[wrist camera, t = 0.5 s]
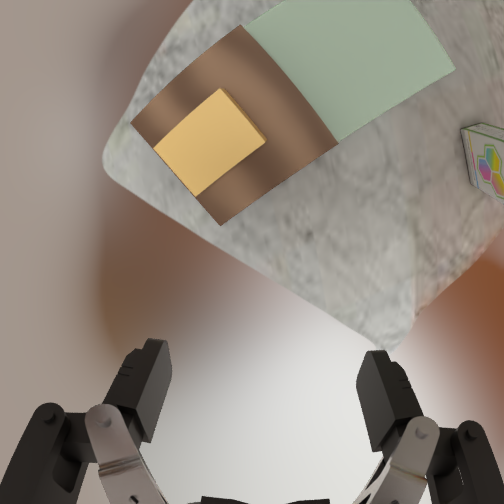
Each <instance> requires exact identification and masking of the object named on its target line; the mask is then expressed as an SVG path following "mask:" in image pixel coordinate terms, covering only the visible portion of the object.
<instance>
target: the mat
mask: <svg viewBox="0 0 504 504" xmlns="http://www.w3.org/2000/svg"><path fill="white" fill-rule="evenodd" d="M243 28H244V29H245V30H246V31H247V32H248V33H249V34H250V35H251V36H252V37H253V38H254V39H255V40H256V41H257V42H258V43H259V44H260V45H261V47H262V48H263V49H264V50H265V51H266V52H267V53H268V54H269V55H270V56H271V58H272V59H273V60H274V61H275V62H276V63H277V64H278V66H279V67H280V68H281V69H282V70H283V71H284V73H285V74H286V75H287V76H288V77H289V79H290V80H291V81H292V82H293V83H294V85H295V86H296V87H297V88H298V90H299V91H300V92H301V93H302V95H303V96H304V97H305V98H306V100H307V101H308V102H309V104H310V105H311V106H312V107H313V109H314V110H315V111H316V113H317V114H318V115H319V117H320V118H321V119H322V121H323V122H324V124H325V125H326V126H327V128H328V129H329V131H330V132H331V133H332V135H333V136H334V138H335V139H336V140H337V142H339V141H341V140H342V139H344V138H345V137H347V136H348V135H350V134H351V133H353V132H355V131H356V130H358V129H359V128H361V127H362V126H364V125H365V124H367V123H369V122H370V121H372V120H373V119H375V118H376V117H378V116H380V115H381V114H383V113H384V112H386V111H388V110H389V109H391V108H392V107H394V106H396V105H397V104H399V103H400V102H402V101H404V100H405V99H407V98H409V97H410V96H412V95H413V94H415V93H417V92H418V91H420V90H422V89H423V88H425V87H427V86H428V85H430V84H432V83H434V82H435V81H437V80H439V79H440V78H442V77H444V76H446V75H447V74H449V73H451V72H452V71H454V70H456V68H455V67H454V65H453V63H452V61H451V60H450V58H449V56H448V55H447V53H446V51H445V50H444V48H443V46H442V45H441V43H440V42H439V40H438V39H437V37H436V36H435V34H434V33H433V31H432V30H431V28H430V27H429V25H428V24H427V22H426V21H425V20H424V18H423V17H422V16H421V14H420V13H419V12H418V10H417V9H416V8H415V6H414V5H413V4H412V2H411V1H410V0H284V1H283V2H281V3H279V4H278V5H276V6H275V7H273V8H271V9H270V10H268V11H267V12H265V13H264V14H262V15H261V16H259V17H258V18H256V19H255V20H253V21H252V22H250V23H249V24H247V25H246V26H244V27H243Z"/></svg>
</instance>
